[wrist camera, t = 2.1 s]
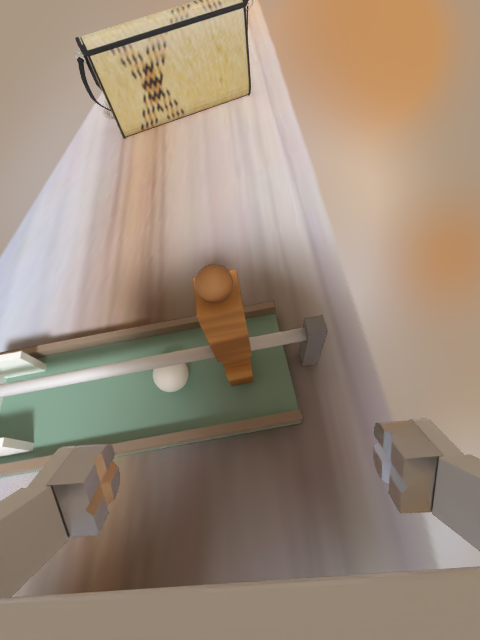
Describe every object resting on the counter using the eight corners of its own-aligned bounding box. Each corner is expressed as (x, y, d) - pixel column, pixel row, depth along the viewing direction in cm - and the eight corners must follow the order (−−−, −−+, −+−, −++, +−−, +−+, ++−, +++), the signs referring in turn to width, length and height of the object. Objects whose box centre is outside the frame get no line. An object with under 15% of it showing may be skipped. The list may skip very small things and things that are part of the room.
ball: (193, 392, 33) (184, 382, 29) (160, 399, 33) (147, 389, 30) (191, 361, 34) (182, 348, 31) (159, 367, 34) (147, 354, 31)
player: (257, 381, 32) (240, 295, 18) (228, 386, 32) (188, 305, 18) (250, 345, 34) (230, 242, 20) (223, 350, 34) (183, 251, 20)
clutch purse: (246, 79, 64) (238, -27, 50) (260, 95, 60) (255, -15, 47) (105, 127, 61) (58, 27, 48) (112, 146, 57) (63, 45, 44)
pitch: (332, 417, 31) (349, 396, 24) (-42, 485, 32) (-133, 484, 25) (300, 306, 37) (305, 264, 30) (-12, 365, 38) (-78, 337, 31)
